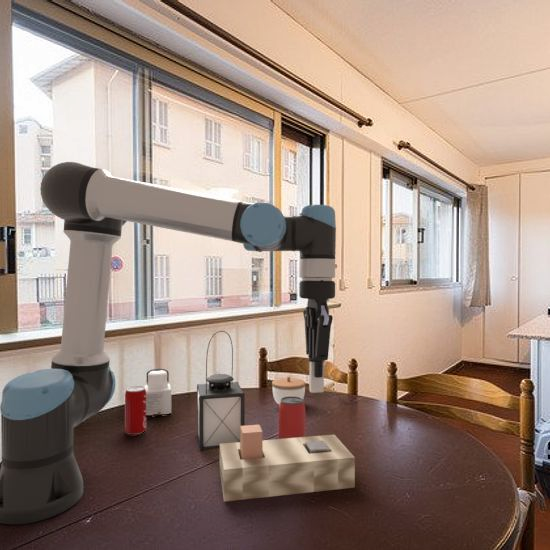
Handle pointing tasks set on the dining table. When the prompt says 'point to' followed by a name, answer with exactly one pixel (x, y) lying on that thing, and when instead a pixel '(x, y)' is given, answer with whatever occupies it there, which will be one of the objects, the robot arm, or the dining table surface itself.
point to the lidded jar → (288, 388)
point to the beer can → (291, 417)
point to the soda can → (135, 410)
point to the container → (158, 392)
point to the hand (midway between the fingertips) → (316, 391)
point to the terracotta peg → (251, 442)
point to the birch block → (285, 469)
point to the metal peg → (316, 447)
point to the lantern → (219, 410)
